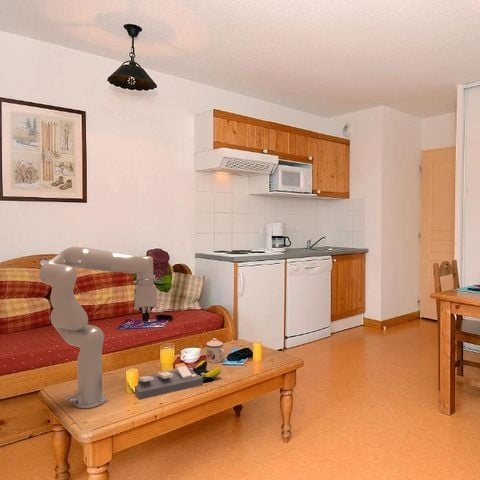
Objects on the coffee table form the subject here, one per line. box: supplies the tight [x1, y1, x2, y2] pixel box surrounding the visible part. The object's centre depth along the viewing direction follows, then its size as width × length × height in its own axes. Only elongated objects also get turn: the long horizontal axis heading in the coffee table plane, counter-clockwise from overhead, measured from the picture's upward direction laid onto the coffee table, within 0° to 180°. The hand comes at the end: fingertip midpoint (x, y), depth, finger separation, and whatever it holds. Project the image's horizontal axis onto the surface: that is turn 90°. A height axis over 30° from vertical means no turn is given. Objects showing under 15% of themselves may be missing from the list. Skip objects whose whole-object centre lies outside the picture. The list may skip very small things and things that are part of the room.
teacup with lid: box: [205, 337, 226, 364], centre depth 215 cm, size 12×9×12 cm
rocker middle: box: [155, 370, 173, 379], centre depth 182 cm, size 4×10×1 cm, turn 31°
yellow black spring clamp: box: [190, 360, 222, 379], centre depth 193 cm, size 15×6×10 cm
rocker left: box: [138, 375, 154, 382], centre depth 178 cm, size 4×10×1 cm, turn 31°
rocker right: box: [174, 362, 192, 379], centre depth 187 cm, size 4×10×1 cm, turn 31°
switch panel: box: [134, 367, 204, 400], centre depth 183 cm, size 29×16×4 cm, turn 121°
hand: (145, 320), depth 191 cm, fingers closed
